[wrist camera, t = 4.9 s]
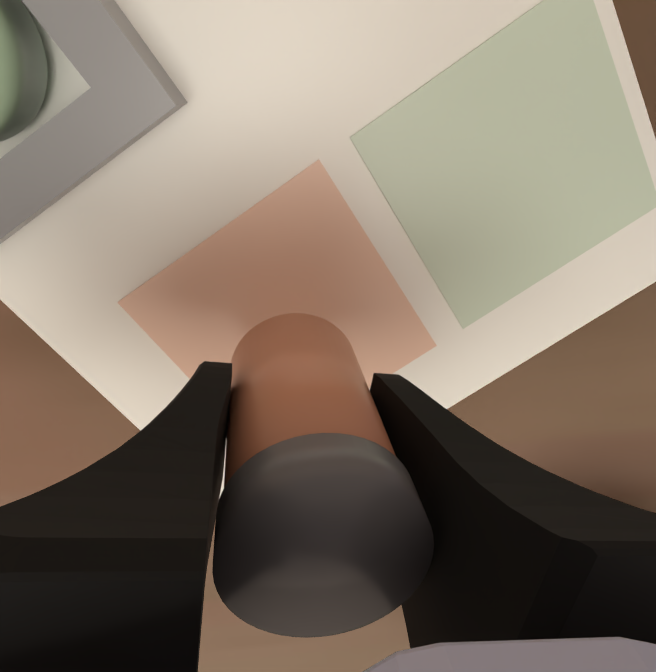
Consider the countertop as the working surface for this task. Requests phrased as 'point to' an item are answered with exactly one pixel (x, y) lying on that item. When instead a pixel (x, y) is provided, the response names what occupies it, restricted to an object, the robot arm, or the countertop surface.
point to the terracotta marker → (312, 489)
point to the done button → (19, 69)
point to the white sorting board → (325, 184)
